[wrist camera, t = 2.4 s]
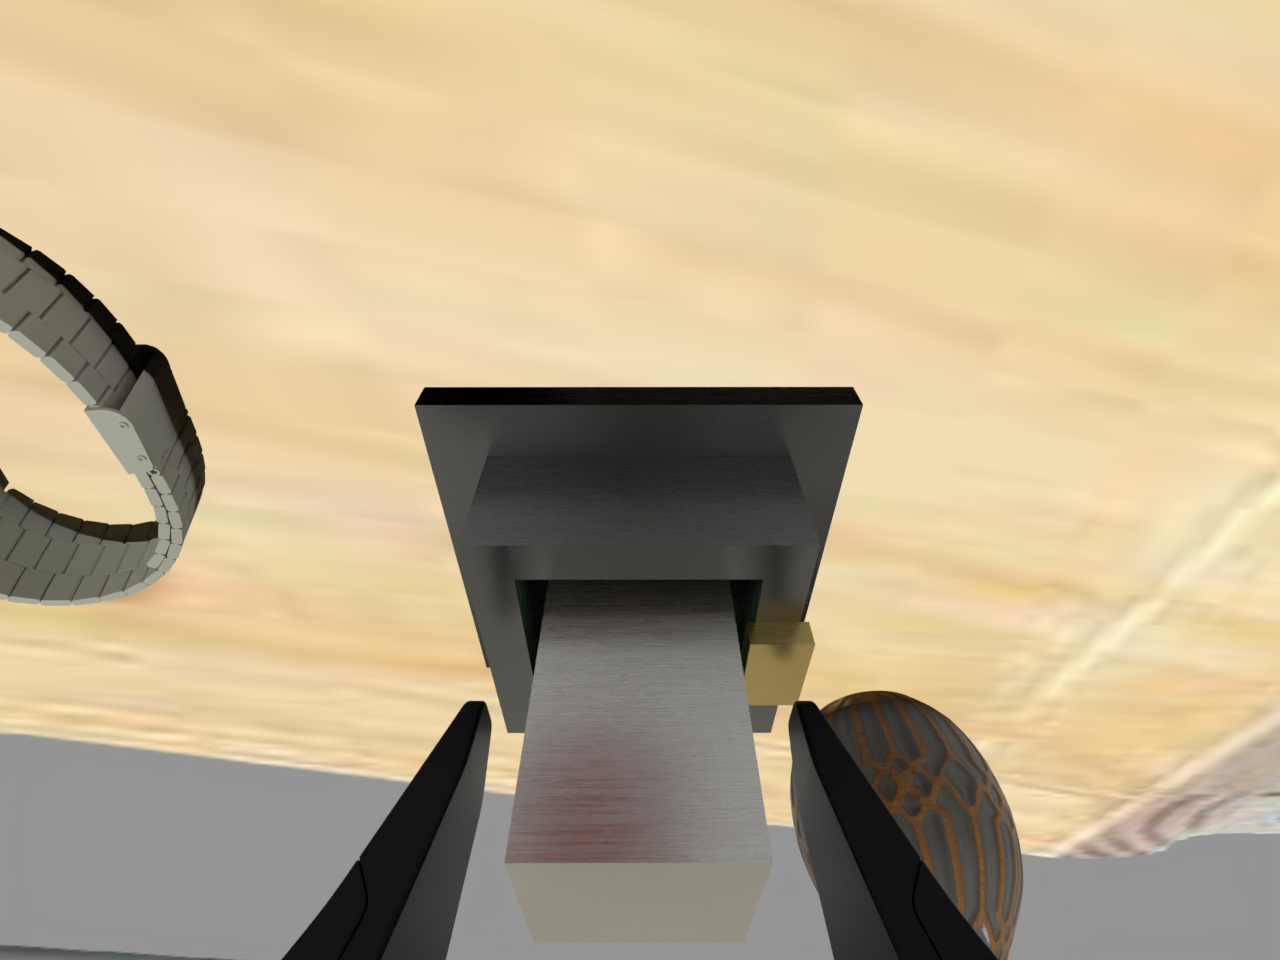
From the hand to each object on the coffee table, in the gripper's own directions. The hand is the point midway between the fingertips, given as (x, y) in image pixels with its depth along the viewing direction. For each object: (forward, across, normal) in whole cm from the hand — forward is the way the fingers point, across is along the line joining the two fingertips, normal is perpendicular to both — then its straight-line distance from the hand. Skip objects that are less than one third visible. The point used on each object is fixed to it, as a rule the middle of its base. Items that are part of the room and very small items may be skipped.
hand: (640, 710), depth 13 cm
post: (+4, 0, 0) cm, 4 cm away
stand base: (+5, 0, 0) cm, 5 cm away
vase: (+6, -9, +10) cm, 14 cm away
